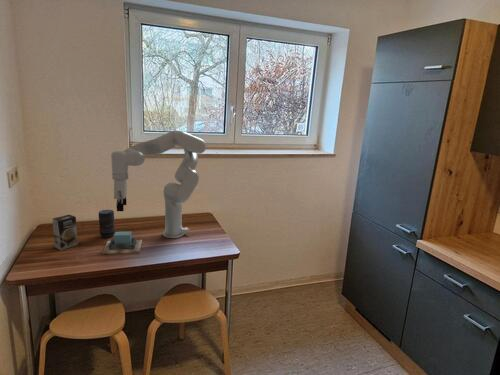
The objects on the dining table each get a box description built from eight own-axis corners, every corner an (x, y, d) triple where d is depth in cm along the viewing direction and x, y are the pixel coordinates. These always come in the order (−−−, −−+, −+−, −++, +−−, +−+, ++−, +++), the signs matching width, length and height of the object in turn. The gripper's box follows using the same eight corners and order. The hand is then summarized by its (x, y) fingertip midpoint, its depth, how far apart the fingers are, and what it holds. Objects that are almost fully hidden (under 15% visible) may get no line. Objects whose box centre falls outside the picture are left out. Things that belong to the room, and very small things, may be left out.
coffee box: (61, 250, 169) (58, 221, 165) (54, 247, 173) (51, 218, 169) (78, 244, 177) (76, 216, 173) (71, 241, 180) (69, 213, 176)
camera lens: (117, 234, 194) (116, 209, 190) (110, 239, 186) (109, 214, 182) (104, 232, 194) (103, 208, 190) (97, 238, 186) (95, 213, 183)
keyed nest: (142, 241, 186) (142, 235, 185) (139, 252, 172) (139, 246, 172) (108, 242, 182) (107, 236, 181) (102, 253, 169) (102, 247, 168)
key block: (116, 243, 179) (115, 231, 177) (131, 243, 180) (131, 231, 178) (114, 247, 174) (114, 235, 172) (130, 247, 176) (130, 235, 174)
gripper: (115, 172, 175) (117, 203, 179) (109, 180, 158) (110, 213, 163) (130, 172, 176) (131, 202, 181) (125, 180, 160) (126, 213, 164)
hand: (121, 208), depth 172 cm, fingers open, 9 cm apart
